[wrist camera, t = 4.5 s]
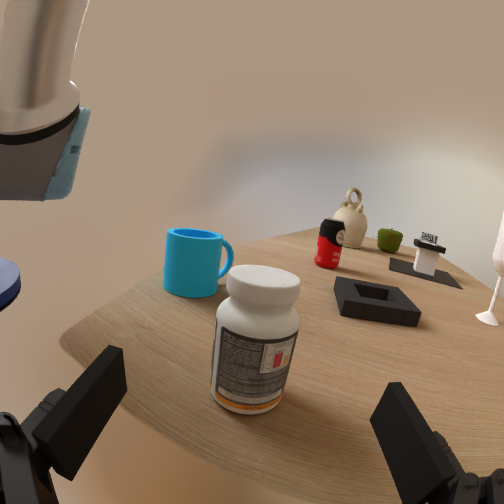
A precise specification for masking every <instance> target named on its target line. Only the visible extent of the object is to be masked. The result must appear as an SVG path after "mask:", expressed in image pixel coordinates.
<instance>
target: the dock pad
mask: <svg viewBox="0 0 504 504" xmlns="http://www.w3.org/2000/svg"><path fill="white" fill-rule="evenodd" d="M334 292H335V295H336V299H337V303H338V307H339V311H340V315H342V316H348V317H354V318H360V319H366V320H373V321H379V322H386V323H393V324H401V325H406V326H414V327H417V324H418V321H419V318H420V316H421V311H420V310H419V309H418V308H417V307H416V306H415V305H414V304H413V303H412V301H411V300H410V299H409V298H408V297H407V296H406V295H405V294H404V293H403V292H402V291H401V290H400V289H399V288H398V287H393V286H387V285H382V284H377V283H371V282H366V281H360V280H355V279H349V278H344V277H338V276H336V280H335V285H334Z"/></svg>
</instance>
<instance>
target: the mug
mask: <svg viewBox="0 0 504 504" xmlns="http://www.w3.org/2000/svg"><path fill="white" fill-rule="evenodd" d="M222 245H223V246H224V247H225V248H226V251H227V260H226V263H225V265H224V267H223V268H222V269H221V270H220V271H219V268H220V259H221V251H222ZM165 252H166V253H165V266H164V283H163V286H164V288H165V289H166V290H167V291H168V292H170V293H172V294H175V295H178V296H183V297H191V298H200V297H208V296H211V295H213V294H215V293H216V291H217V284H218V279H220V278H221V277H223V276H224V275H225V274H226V273H227V272H228V271H229V269H230V268H231V266H232V263H233V260H234V252H233V250H232V247H231V246H230V244H229V243H228V242H227V241H225V240H223V236H222V235H220V234H218V233H215V232H211V231H206V230H199V229H189V228H174V229H169V230H167V239H166V251H165Z"/></svg>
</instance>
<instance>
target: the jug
mask: <svg viewBox="0 0 504 504" xmlns="http://www.w3.org/2000/svg"><path fill="white" fill-rule="evenodd" d="M353 191H355V192H356V193H357V196H358V197H357V201H356V202H355V203H353V202H352V201H351V199H350V196H351V193H352V192H353ZM346 199H347V202H342V203H341V204H340V206H341V207H342V208H341V209H339V210H338V211H337V212H336V213H335V215H334V216H333V219H337V220H342V221H344V225H345V234H344V240H343V245H342V246H344V247H349V248H356V249H358V248H360V245H361V243H362V241H363V238H364V236H365V233H366V230H367V220H366V217H365V215H364V214H363V206H362V205H360V206H359V207H357V206H358V205H359V204H360V203H361V200H362V195H361V192H360V191H359V190H358V189H357V188H351V189H349V190H348V192H347V194H346Z"/></svg>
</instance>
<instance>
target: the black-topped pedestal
mask: <svg viewBox="0 0 504 504" xmlns="http://www.w3.org/2000/svg"><path fill="white" fill-rule="evenodd" d="M422 233H424V232H421V235H422ZM425 235H426V234H425ZM421 237H422V236H421ZM421 237H420V240H418V239H414V245H415V246H417V247H418V249H417V253H416V257H415V262H414V263H410V262H406V261H402V260H398V259H395V258H391V257H390V265H389V269H390V270H394V271H398V272H401V273H405V274H409V275H413V276H417V277H420V278H424V279H428V280H432V281H435V282H439V283H443V284H447V285H450V286H454V287H458V288H461V289H463V288H462V287H461V286H460V285H459V284H458V283H457V282H456V281H455V280H454V279H453V278H452V277H451V276H450V275H449V273H448V272H444V271H440V270H437V269H435V268H436V264H437V260H438V256H439V253H443V254H445V251H446V248H444V247H441V246H439V245H437V241H438V237H437V236H435V235H434V237H435V239H434V237H433V235H432V237H433V238H432V240H431V238H430V240H428V241H431V242H426V241H422V240H421ZM423 237H427V236H423ZM428 237H430V236H429V234H428ZM433 241H434V242H433Z"/></svg>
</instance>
